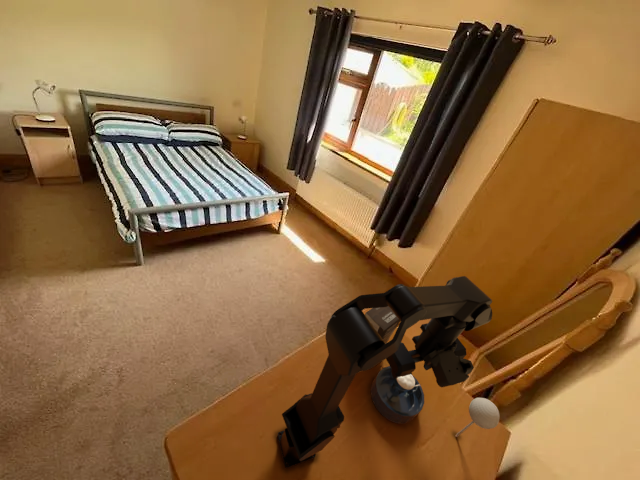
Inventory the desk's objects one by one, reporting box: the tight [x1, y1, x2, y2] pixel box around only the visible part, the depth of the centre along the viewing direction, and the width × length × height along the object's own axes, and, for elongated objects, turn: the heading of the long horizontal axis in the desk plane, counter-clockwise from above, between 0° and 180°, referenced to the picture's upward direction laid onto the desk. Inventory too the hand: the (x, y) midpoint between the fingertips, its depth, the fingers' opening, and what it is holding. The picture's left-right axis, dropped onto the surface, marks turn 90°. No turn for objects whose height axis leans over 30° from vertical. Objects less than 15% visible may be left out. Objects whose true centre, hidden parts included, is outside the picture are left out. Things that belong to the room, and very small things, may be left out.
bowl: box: [370, 365, 425, 425], centre depth 76 cm, size 12×12×4 cm
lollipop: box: [454, 397, 501, 438], centre depth 69 cm, size 6×6×15 cm
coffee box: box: [364, 306, 401, 344], centre depth 81 cm, size 9×6×16 cm
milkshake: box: [387, 374, 422, 403], centre depth 74 cm, size 4×5×10 cm
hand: (409, 372), depth 70 cm, fingers open, 9 cm apart
